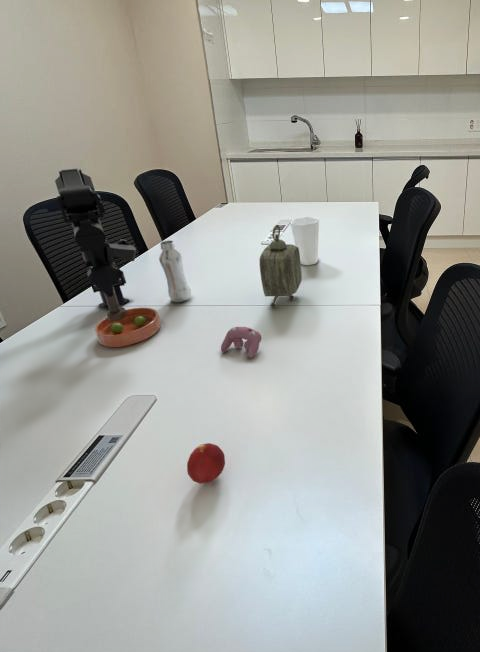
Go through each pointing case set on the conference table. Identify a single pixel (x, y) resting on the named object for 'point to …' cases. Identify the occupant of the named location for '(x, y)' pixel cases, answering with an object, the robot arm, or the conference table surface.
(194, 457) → the onion
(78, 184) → the robot arm
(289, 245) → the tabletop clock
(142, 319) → the olive
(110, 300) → the brown bolt
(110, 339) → the bowl
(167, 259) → the plastic bottle
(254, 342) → the video game controller
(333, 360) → the conference table surface
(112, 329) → the olive
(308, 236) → the cup
